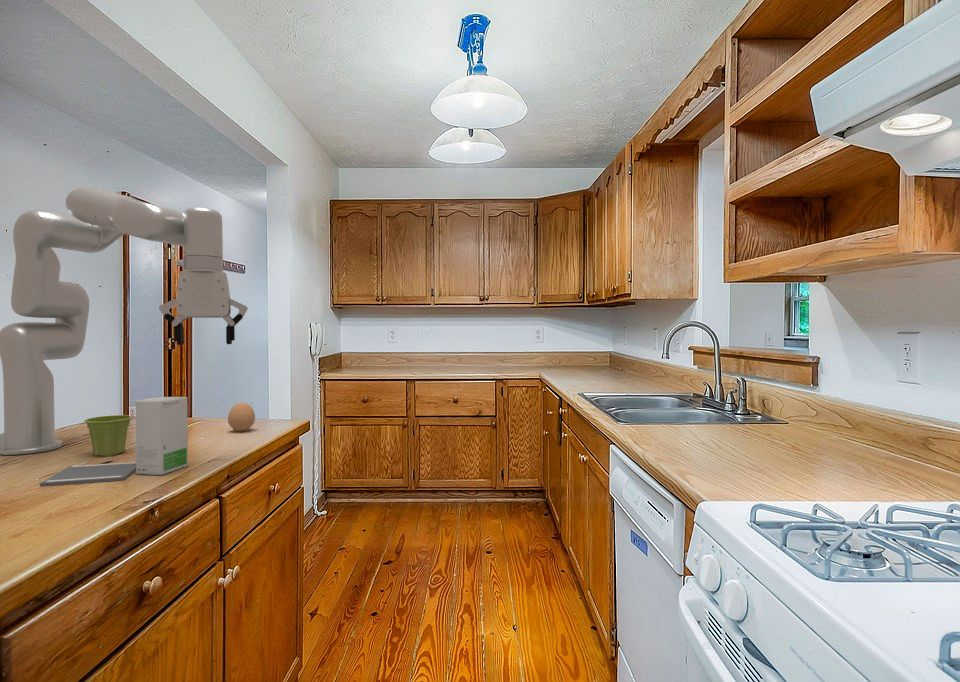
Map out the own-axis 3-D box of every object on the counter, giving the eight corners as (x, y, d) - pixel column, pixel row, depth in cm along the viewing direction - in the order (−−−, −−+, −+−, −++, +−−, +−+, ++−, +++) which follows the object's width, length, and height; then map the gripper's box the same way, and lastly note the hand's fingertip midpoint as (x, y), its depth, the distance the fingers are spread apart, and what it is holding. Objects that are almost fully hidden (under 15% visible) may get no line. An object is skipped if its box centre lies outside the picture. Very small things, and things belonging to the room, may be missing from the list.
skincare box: (161, 476, 108) (160, 401, 108) (133, 474, 109) (132, 400, 109) (189, 465, 117) (189, 396, 116) (163, 464, 118) (162, 395, 117)
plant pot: (86, 460, 120) (86, 423, 120) (83, 453, 127) (82, 417, 127) (135, 454, 127) (134, 418, 126) (129, 447, 134) (128, 413, 133)
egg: (237, 434, 150) (237, 405, 150) (222, 431, 154) (222, 402, 154) (260, 430, 156) (260, 402, 156) (245, 427, 160) (245, 400, 160)
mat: (39, 486, 101) (39, 482, 101) (69, 468, 113) (69, 465, 113) (123, 480, 105) (123, 477, 105) (143, 464, 117) (143, 461, 117)
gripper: (153, 262, 108) (155, 345, 109) (244, 265, 114) (245, 344, 114) (163, 266, 116) (165, 344, 116) (248, 269, 121) (249, 343, 121)
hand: (205, 344), depth 115 cm, fingers open, 9 cm apart
